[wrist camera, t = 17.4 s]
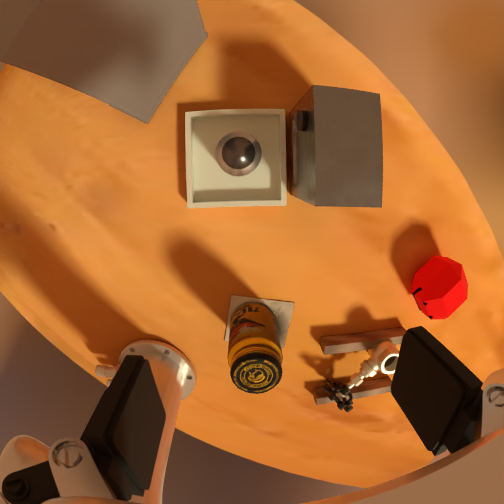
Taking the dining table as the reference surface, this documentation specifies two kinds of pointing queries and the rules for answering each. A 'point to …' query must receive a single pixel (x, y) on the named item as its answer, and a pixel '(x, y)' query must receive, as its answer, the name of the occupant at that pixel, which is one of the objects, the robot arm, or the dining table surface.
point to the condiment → (256, 341)
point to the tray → (218, 181)
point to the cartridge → (238, 153)
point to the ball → (440, 287)
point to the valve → (364, 373)
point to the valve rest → (356, 344)
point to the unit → (337, 148)
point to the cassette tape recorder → (104, 46)
